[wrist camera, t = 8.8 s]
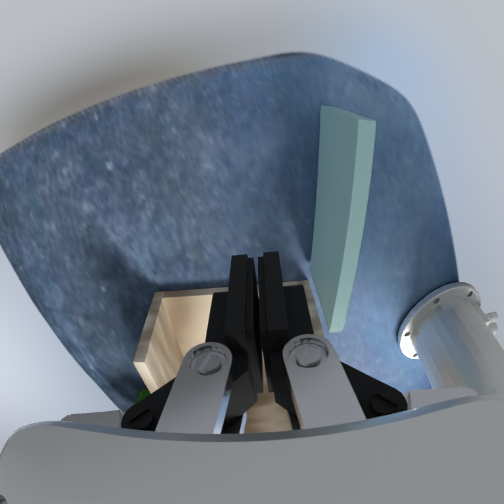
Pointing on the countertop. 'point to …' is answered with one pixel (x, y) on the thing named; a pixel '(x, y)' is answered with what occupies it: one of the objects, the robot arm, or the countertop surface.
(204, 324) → the crate
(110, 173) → the countertop surface
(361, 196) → the door
